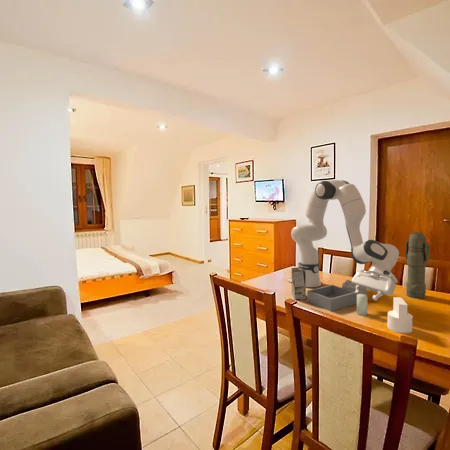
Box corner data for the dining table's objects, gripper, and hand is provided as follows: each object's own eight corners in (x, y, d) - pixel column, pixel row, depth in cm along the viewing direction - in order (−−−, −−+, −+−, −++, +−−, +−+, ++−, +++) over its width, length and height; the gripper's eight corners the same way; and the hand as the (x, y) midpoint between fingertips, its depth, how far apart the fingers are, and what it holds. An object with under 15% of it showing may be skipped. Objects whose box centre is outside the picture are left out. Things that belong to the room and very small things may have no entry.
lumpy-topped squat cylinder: (369, 297, 159) (369, 282, 158) (351, 301, 154) (351, 286, 153) (354, 292, 169) (354, 277, 168) (337, 296, 164) (337, 281, 163)
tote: (307, 301, 156) (307, 290, 156) (332, 294, 165) (332, 284, 165) (330, 311, 142) (330, 299, 142) (356, 303, 151) (356, 292, 151)
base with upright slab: (385, 322, 128) (385, 296, 127) (408, 324, 125) (409, 297, 124) (390, 331, 119) (390, 303, 118) (415, 334, 117) (416, 305, 116)
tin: (354, 313, 139) (354, 295, 138) (360, 311, 141) (361, 293, 140) (363, 316, 135) (363, 297, 134) (369, 314, 137) (369, 296, 136)
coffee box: (306, 299, 159) (305, 271, 158) (294, 299, 160) (294, 271, 158) (302, 294, 168) (302, 267, 167) (291, 294, 169) (290, 267, 167)
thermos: (423, 300, 152) (426, 235, 148) (400, 294, 162) (401, 233, 158) (431, 297, 156) (434, 233, 153) (408, 291, 166) (410, 231, 163)
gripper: (356, 265, 150) (343, 287, 146) (395, 274, 132) (382, 299, 128) (362, 272, 152) (349, 294, 149) (401, 282, 134) (388, 306, 131)
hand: (365, 296), depth 138 cm, fingers open, 8 cm apart
